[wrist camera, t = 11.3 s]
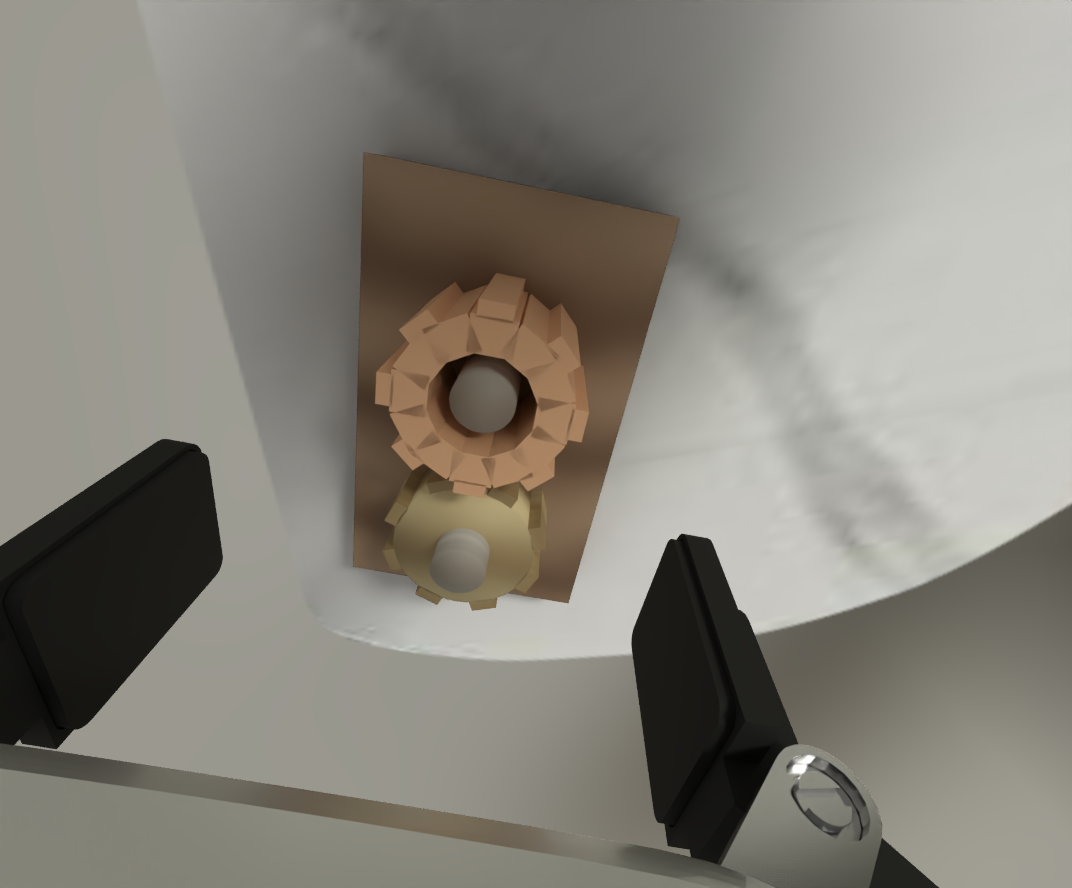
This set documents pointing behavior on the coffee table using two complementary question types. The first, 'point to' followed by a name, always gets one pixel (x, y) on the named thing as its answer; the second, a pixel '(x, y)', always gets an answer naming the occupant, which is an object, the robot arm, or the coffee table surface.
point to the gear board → (555, 271)
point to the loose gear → (498, 331)
